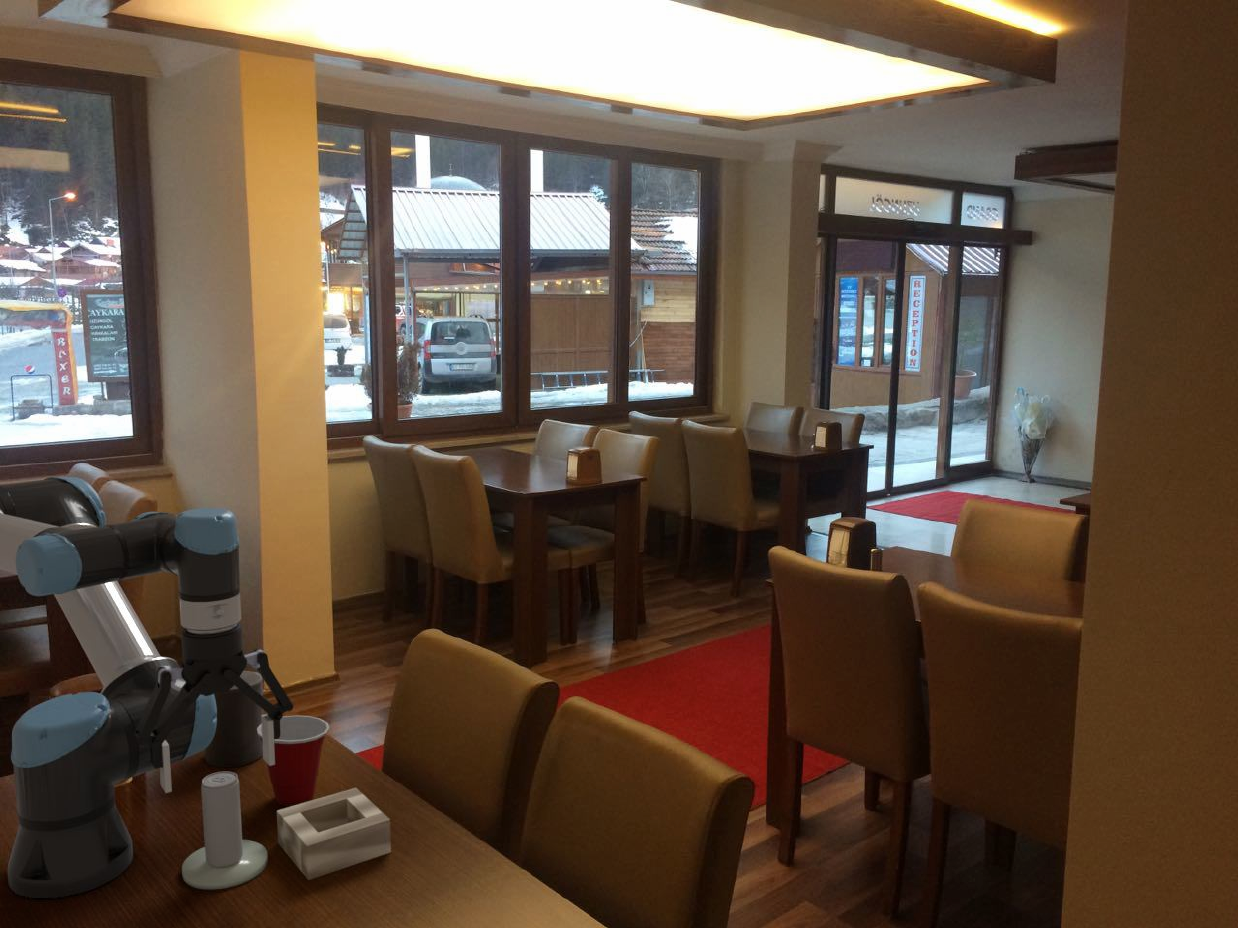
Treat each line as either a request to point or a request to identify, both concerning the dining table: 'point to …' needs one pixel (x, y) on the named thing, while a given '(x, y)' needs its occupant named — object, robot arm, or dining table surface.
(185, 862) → the pale green cabochon
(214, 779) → the beverage can
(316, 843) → the birch sleeve
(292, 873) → the dining table surface
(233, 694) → the pillar candle
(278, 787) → the plastic cup
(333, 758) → the dining table surface
